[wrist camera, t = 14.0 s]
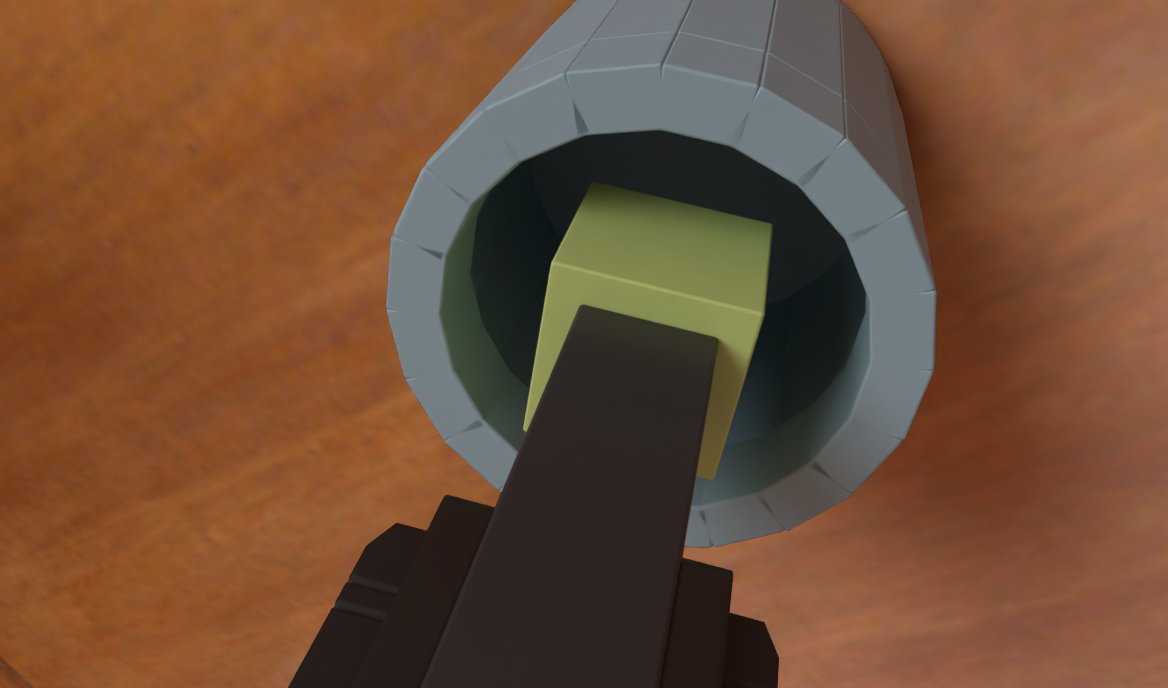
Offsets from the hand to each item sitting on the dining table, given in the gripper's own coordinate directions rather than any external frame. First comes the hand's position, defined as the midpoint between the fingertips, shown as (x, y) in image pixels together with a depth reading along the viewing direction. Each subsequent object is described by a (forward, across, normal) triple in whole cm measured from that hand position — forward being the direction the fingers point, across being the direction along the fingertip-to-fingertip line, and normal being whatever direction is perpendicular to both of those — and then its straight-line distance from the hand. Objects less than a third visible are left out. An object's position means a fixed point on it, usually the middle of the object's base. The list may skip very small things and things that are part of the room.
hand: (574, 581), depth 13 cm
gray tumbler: (+16, 0, 0) cm, 16 cm away
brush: (+9, 0, 0) cm, 9 cm away
